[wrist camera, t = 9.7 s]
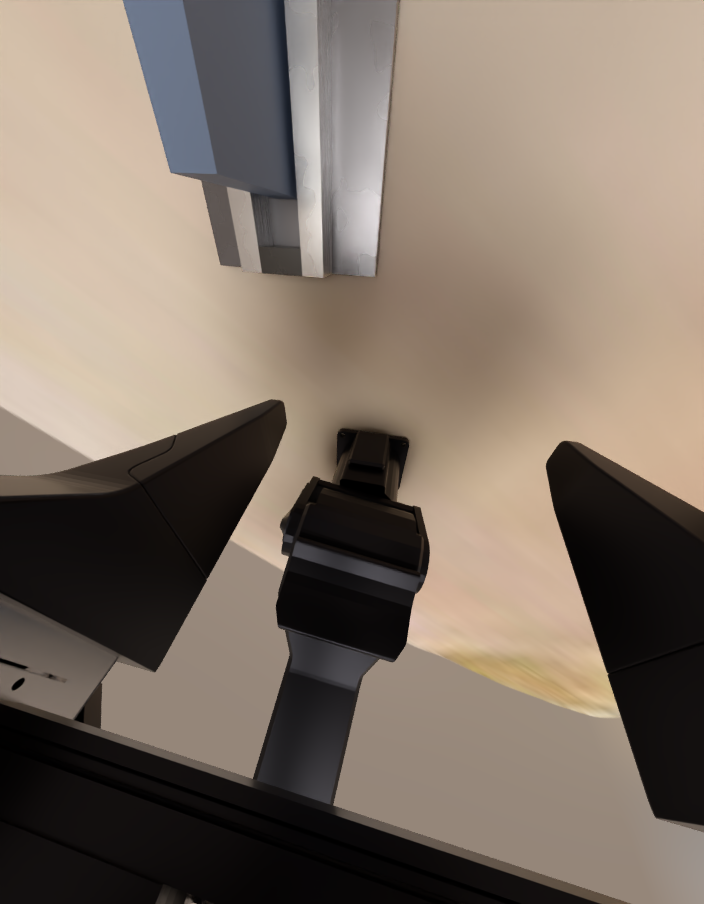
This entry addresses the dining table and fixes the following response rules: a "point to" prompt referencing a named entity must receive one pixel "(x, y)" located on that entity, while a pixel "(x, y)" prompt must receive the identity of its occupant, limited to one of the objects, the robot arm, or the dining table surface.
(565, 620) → the dining table surface
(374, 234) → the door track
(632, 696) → the robot arm
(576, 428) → the dining table surface
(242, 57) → the door panel
